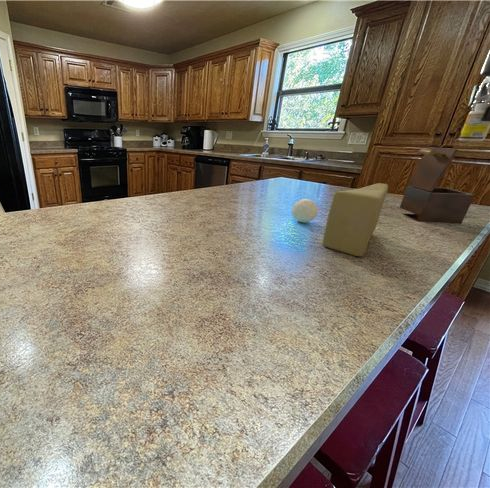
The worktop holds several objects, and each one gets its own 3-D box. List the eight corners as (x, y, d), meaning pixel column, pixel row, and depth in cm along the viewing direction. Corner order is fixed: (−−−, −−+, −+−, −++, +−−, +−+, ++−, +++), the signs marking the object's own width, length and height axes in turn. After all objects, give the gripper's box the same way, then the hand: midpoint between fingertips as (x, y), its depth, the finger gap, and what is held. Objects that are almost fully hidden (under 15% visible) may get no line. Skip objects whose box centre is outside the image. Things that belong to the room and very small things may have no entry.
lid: (430, 147, 92) (415, 144, 92) (458, 149, 82) (441, 146, 82) (408, 185, 98) (394, 182, 98) (432, 191, 87) (416, 188, 87)
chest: (435, 213, 100) (446, 187, 96) (461, 223, 89) (475, 194, 85) (397, 212, 102) (407, 186, 98) (418, 221, 91) (430, 193, 87)
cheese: (351, 228, 84) (365, 180, 78) (388, 237, 77) (408, 185, 71) (319, 245, 71) (333, 189, 65) (361, 258, 64) (382, 197, 58)
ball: (294, 229, 90) (282, 209, 89) (306, 217, 94) (295, 198, 93) (315, 225, 84) (302, 203, 83) (327, 211, 87) (315, 191, 86)
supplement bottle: (467, 140, 85) (482, 104, 81) (489, 141, 80) (506, 102, 76) (452, 140, 84) (467, 104, 80) (474, 141, 79) (491, 102, 75)
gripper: (550, 45, 66) (514, 120, 72) (506, 58, 78) (479, 122, 85) (509, 47, 68) (478, 120, 75) (472, 60, 80) (449, 122, 87)
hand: (479, 121), depth 80 cm, fingers closed on supplement bottle, 5 cm apart
